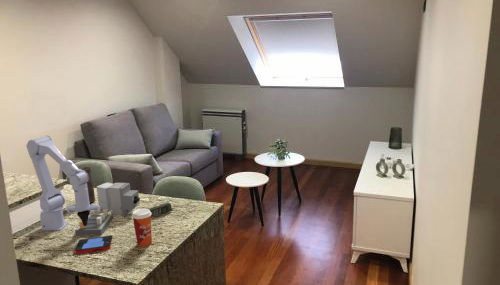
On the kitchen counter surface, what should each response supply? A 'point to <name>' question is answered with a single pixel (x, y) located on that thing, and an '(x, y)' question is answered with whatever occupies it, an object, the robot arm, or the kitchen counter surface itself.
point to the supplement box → (104, 196)
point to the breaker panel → (96, 224)
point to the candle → (89, 184)
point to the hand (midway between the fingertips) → (85, 225)
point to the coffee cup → (142, 226)
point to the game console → (93, 244)
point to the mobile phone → (160, 210)
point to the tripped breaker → (81, 225)
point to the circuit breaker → (122, 199)
